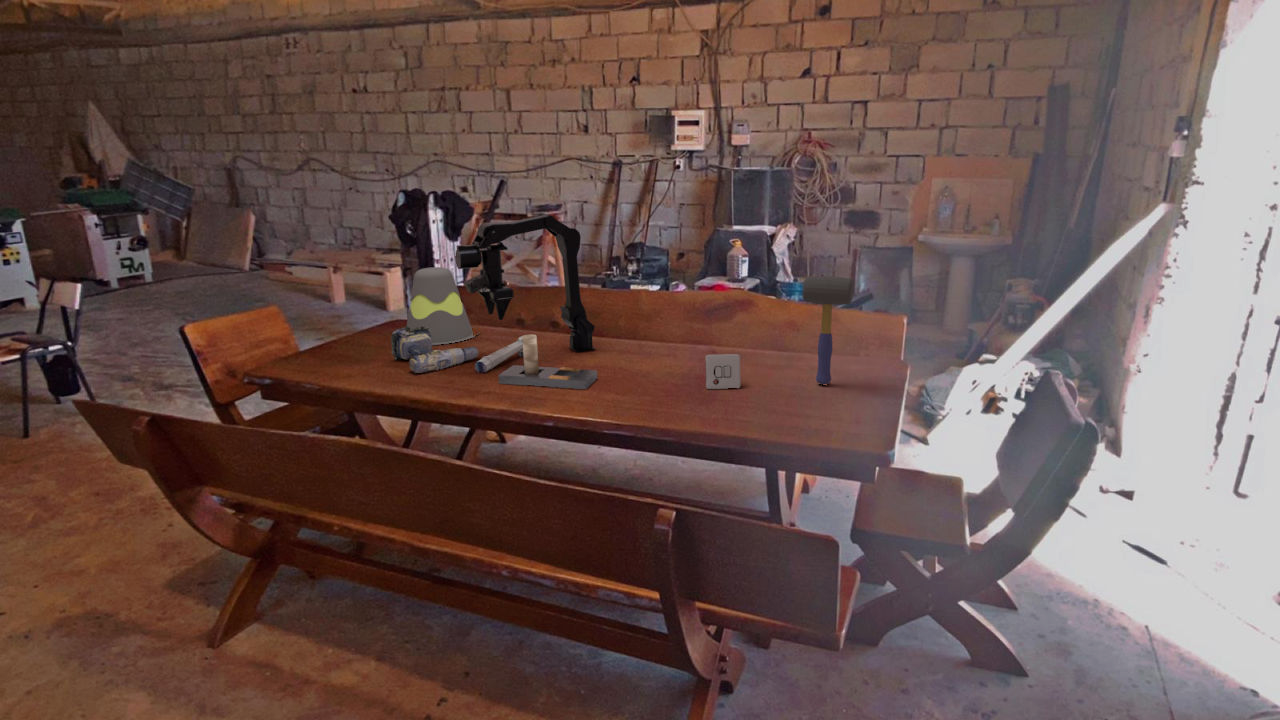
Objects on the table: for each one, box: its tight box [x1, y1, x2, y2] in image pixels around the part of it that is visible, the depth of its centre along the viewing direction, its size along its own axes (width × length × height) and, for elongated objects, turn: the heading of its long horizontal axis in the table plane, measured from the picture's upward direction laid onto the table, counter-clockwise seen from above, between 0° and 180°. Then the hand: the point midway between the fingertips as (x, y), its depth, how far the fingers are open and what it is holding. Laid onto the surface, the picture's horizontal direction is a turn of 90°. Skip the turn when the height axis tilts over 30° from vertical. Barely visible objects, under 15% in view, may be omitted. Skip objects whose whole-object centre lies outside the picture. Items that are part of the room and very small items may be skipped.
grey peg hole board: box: [498, 364, 598, 390], centre depth 212 cm, size 26×10×3 cm, turn 74°
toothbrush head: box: [474, 335, 524, 374], centre depth 232 cm, size 5×7×25 cm
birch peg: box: [521, 334, 539, 375], centre depth 212 cm, size 4×4×13 cm
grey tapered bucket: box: [406, 266, 479, 346], centre depth 263 cm, size 28×28×24 cm
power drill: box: [390, 325, 480, 374], centre depth 234 cm, size 22×23×11 cm
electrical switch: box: [704, 353, 741, 390], centre depth 204 cm, size 9×5×9 cm, turn 90°
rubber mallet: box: [802, 275, 854, 384], centre depth 200 cm, size 12×8×30 cm, turn 67°
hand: (495, 316), depth 227 cm, fingers open, 9 cm apart
